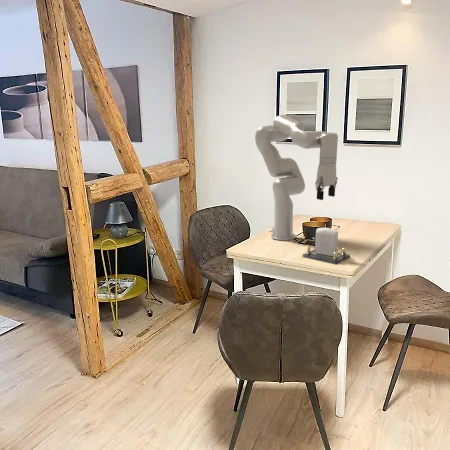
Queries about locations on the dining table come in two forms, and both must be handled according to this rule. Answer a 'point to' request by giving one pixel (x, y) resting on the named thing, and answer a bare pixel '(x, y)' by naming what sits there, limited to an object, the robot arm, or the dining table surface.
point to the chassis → (326, 256)
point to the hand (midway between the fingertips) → (325, 197)
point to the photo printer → (326, 241)
